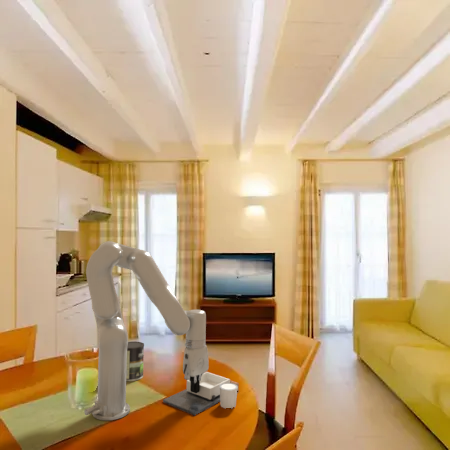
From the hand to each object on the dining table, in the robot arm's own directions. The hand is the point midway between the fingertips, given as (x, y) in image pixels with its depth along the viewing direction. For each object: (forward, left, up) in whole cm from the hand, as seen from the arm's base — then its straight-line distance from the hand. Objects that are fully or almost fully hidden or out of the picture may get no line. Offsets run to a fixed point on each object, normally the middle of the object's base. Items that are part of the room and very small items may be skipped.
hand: (194, 391), depth 143 cm
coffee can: (-1, +37, -4) cm, 37 cm away
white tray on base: (+8, 0, -2) cm, 8 cm away
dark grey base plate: (+4, 0, -3) cm, 6 cm away
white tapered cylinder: (+5, -12, -4) cm, 13 cm away
